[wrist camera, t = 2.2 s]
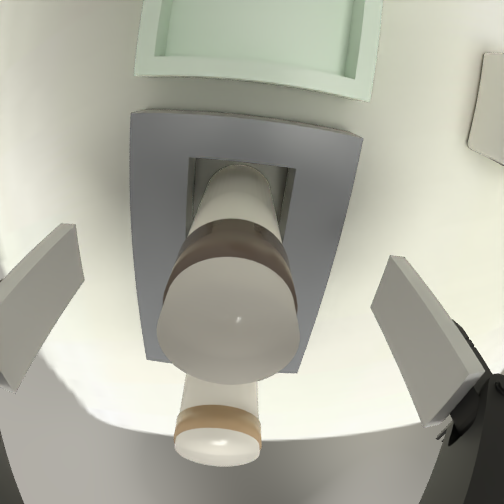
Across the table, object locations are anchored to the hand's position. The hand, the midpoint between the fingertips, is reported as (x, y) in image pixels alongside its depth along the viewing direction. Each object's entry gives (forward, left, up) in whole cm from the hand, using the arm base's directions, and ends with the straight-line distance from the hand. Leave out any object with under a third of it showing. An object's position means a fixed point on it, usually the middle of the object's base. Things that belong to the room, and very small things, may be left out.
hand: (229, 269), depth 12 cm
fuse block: (+4, 0, -8) cm, 9 cm away
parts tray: (-14, 0, -8) cm, 16 cm away
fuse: (+8, 0, -8) cm, 11 cm away
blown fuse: (0, 0, -8) cm, 8 cm away
